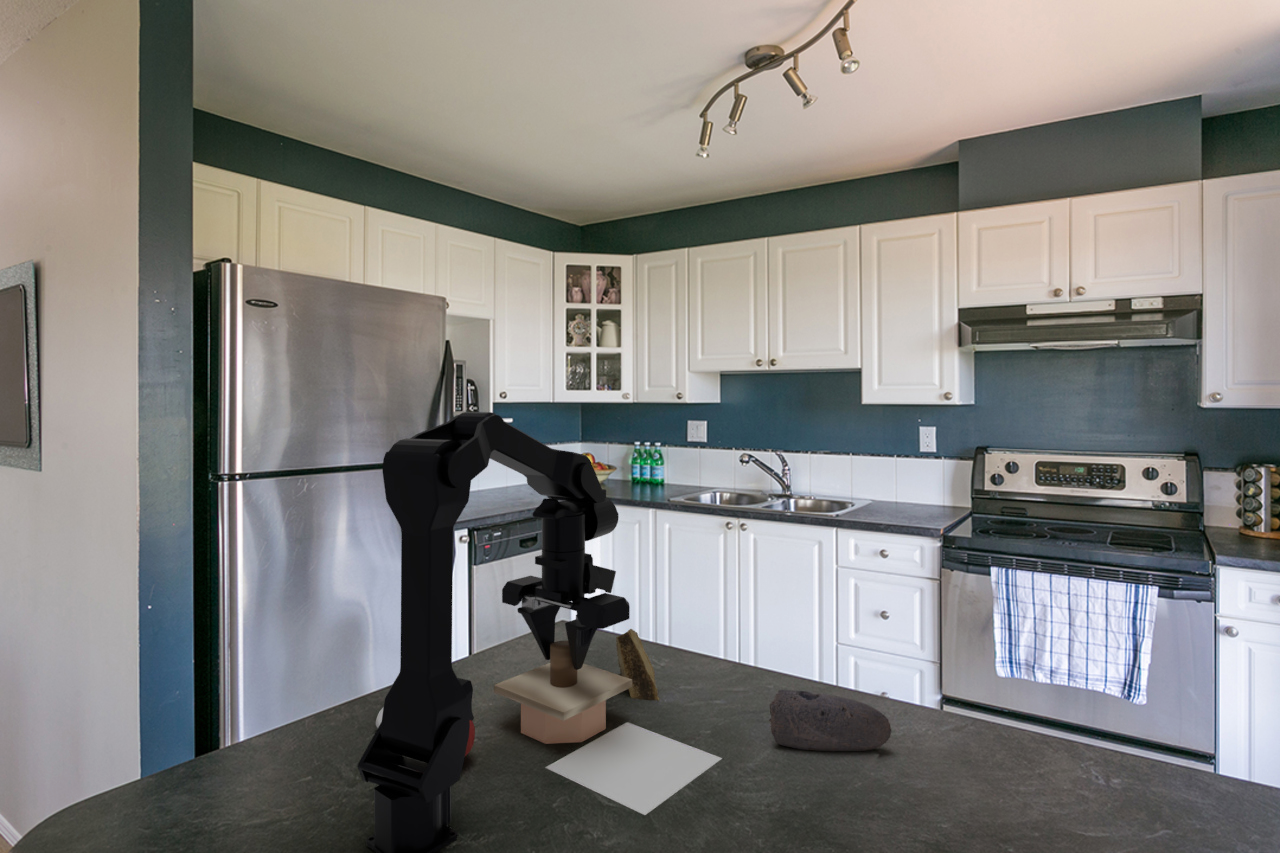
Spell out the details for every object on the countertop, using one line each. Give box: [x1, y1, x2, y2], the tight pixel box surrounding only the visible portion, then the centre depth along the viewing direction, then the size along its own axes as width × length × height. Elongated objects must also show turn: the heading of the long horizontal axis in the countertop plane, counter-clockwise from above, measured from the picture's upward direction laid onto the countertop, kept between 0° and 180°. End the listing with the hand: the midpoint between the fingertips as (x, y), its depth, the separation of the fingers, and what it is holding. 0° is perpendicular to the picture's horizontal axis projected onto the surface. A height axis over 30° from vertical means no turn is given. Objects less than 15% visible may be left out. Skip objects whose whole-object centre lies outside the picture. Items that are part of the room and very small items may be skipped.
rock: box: [615, 628, 660, 701], centre depth 107 cm, size 11×9×10 cm
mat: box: [544, 721, 723, 816], centre depth 84 cm, size 15×15×1 cm
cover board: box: [493, 640, 632, 721], centre depth 94 cm, size 13×13×6 cm
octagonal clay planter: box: [520, 700, 607, 745], centre depth 94 cm, size 11×11×5 cm
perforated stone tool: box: [768, 689, 892, 752], centre depth 89 cm, size 15×5×7 cm, turn 81°
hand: (563, 663), depth 94 cm, fingers open, 5 cm apart
